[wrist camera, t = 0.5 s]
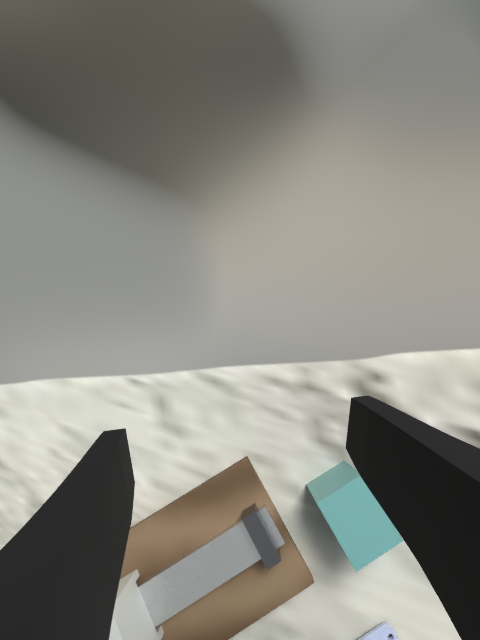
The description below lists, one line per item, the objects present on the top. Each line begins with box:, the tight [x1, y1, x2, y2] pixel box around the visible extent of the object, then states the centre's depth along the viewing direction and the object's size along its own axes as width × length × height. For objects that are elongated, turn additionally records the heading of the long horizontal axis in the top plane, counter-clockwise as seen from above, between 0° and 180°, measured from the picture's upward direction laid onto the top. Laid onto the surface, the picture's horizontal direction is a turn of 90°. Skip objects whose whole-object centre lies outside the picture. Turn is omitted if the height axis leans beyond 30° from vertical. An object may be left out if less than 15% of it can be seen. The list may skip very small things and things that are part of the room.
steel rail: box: [137, 503, 285, 627], centre depth 28 cm, size 4×21×2 cm, turn 120°
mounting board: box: [120, 456, 314, 640], centre depth 30 cm, size 12×22×1 cm, turn 120°
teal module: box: [306, 461, 403, 572], centre depth 28 cm, size 6×4×6 cm
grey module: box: [109, 569, 164, 640], centre depth 26 cm, size 6×4×6 cm
